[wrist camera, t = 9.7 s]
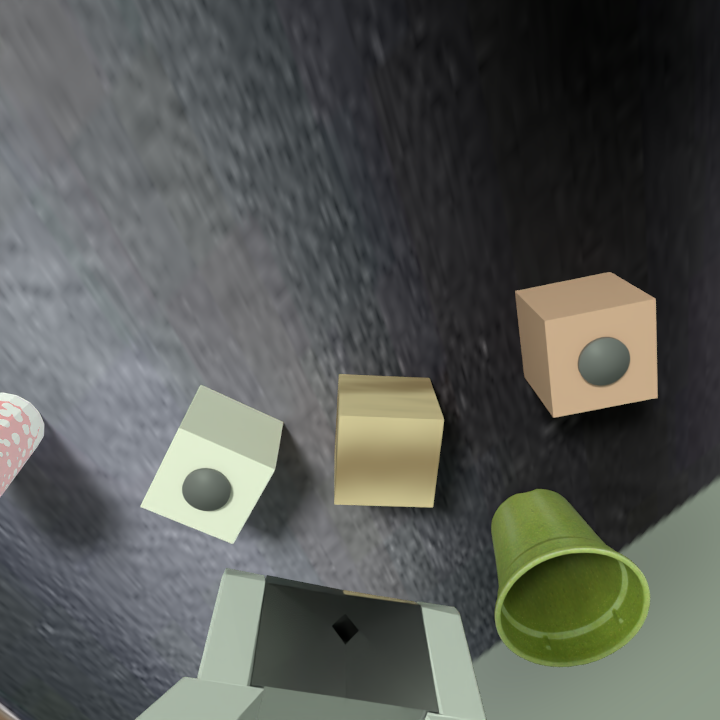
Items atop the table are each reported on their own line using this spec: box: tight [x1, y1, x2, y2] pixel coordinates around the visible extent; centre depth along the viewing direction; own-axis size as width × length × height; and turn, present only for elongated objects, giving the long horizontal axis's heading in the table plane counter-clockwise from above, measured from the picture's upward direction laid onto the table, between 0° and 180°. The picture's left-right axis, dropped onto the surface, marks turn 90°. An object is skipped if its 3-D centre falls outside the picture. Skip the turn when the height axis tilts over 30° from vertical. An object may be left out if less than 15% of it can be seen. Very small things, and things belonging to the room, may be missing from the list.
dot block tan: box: [515, 272, 658, 418], centre depth 37 cm, size 6×6×6 cm
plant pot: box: [491, 489, 650, 667], centre depth 41 cm, size 9×9×9 cm
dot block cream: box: [140, 385, 283, 544], centre depth 39 cm, size 6×6×6 cm
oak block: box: [334, 374, 444, 507], centre depth 39 cm, size 6×6×6 cm
